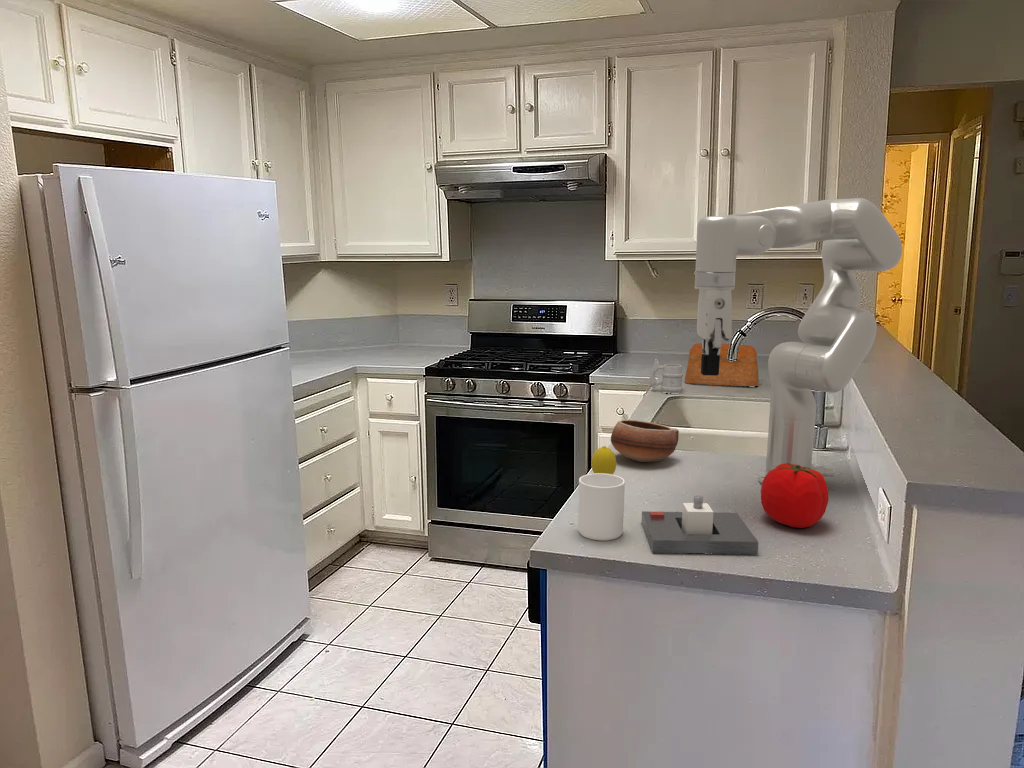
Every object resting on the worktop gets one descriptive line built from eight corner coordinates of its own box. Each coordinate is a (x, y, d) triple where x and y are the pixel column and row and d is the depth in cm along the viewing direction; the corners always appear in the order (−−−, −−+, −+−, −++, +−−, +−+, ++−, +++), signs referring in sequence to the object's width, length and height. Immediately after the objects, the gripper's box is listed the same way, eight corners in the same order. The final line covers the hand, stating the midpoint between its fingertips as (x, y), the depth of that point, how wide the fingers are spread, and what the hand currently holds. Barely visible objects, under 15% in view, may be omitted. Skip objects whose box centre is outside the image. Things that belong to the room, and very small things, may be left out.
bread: (686, 378, 296) (688, 340, 293) (757, 382, 288) (760, 343, 285) (683, 384, 283) (685, 345, 280) (758, 389, 275) (761, 348, 272)
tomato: (774, 536, 138) (779, 475, 136) (747, 510, 151) (750, 455, 149) (839, 534, 139) (844, 474, 136) (806, 509, 152) (810, 454, 150)
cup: (576, 539, 136) (577, 486, 134) (580, 516, 147) (581, 466, 146) (622, 542, 135) (624, 488, 133) (623, 518, 146) (625, 468, 144)
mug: (682, 395, 264) (684, 361, 261) (648, 393, 266) (649, 360, 264) (682, 390, 271) (683, 358, 269) (649, 389, 273) (650, 356, 271)
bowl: (688, 462, 183) (690, 422, 182) (645, 474, 174) (646, 432, 172) (640, 448, 196) (641, 411, 194) (597, 459, 186) (598, 419, 184)
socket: (736, 524, 143) (737, 509, 143) (757, 555, 129) (758, 538, 129) (641, 523, 144) (641, 508, 143) (652, 553, 130) (653, 536, 129)
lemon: (599, 475, 173) (600, 441, 172) (620, 479, 170) (621, 445, 168) (586, 480, 169) (587, 446, 167) (607, 485, 166) (608, 450, 164)
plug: (705, 531, 139) (708, 492, 137) (711, 541, 134) (713, 501, 133) (681, 531, 139) (683, 492, 137) (686, 540, 134) (688, 500, 133)
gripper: (744, 283, 138) (738, 381, 141) (724, 279, 153) (719, 368, 156) (703, 283, 138) (698, 381, 142) (687, 279, 153) (683, 368, 156)
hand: (709, 374), depth 149 cm, fingers closed
